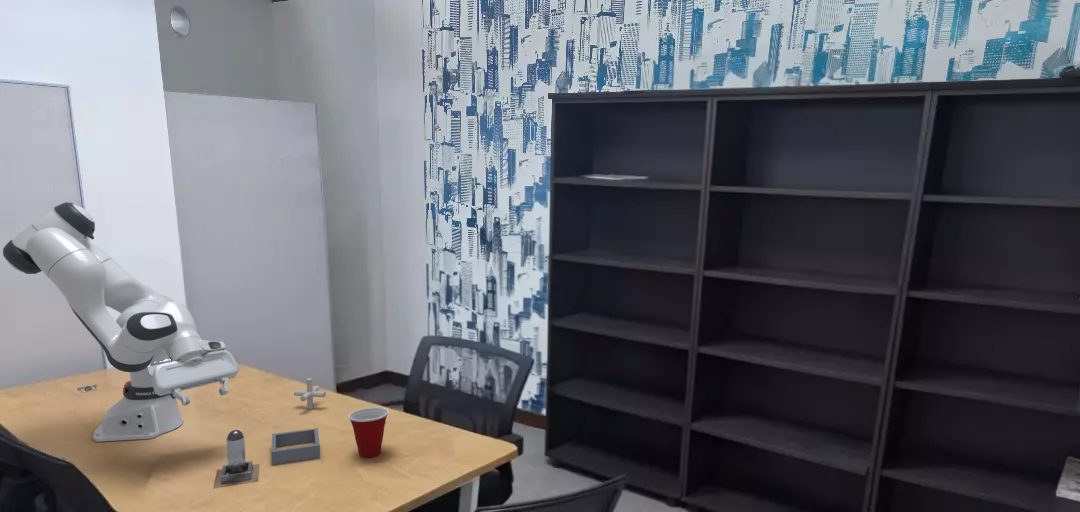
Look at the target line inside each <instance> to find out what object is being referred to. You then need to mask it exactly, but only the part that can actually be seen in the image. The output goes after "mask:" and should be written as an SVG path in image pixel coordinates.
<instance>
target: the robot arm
mask: <svg viewBox="0 0 1080 512" xmlns="http://www.w3.org/2000/svg"><path fill="white" fill-rule="evenodd" d="M95 230H96V223H95V221H94V219H93V217H92V216H91V214H90V213H89V211H88V210H86V209H85V208H84V207H82V206H79V205H77V204H75V203H73V202H69V201H68V202H67V201H66V202H63V203H61V204H58V205H56V206H54V208H53V209H51V210H49V211H48V212H46V213H45V214H42V215H41V216H39V217H38V218H37V219H35V220H34V221H32V222H31V224H29V225H28V226H26V228H24V229H23V230H22V231H21V232H20V233H18V234H17V235H16V237H14V239H11V240H9V241H8V242H7V243H6V244H5V246H3V248H2V257H4V259H5V260H6V261H7V263H8V264H9V266H11V267H12V268H13V269H15V270H17V271H19V272H20V273H21V272H22V273H24V274H26V275H37V274H38V273H41V272H43V274H44V275H45V276H46V277H47V278H49V280H50V281H51V282H52V283H53V284H54V285H55V286H56V287H57V288H58V290H59V291H60V292H61V293H62V296H63V297H64V298H65V299H66V301H67V303H68V305H69V306H70V309H71V310H72V312H73V313H74V315H75V316H76V317H77V319H78V320H79V321H80V322H81V324H82V326H83V327H85V328H86V329H87V331H88V332H89V333H90V335H91V336H92V337H93V338H94V339H95V340H96V342H97V343H98V344H99V345H100V347H102V349H103V352H104V353H105V356H106V358H107V361H108V362H109V364H110V365H111V366H112V367H113V368H115V369H117V370H118V371H120V372H124V373H125V372H126V373H129V378H130V379H129V380H128V381H126V382H125V384H124V385H123V389H122V395H123V397H122V398H121V399H119V400H118V401H117V402H115V403H114V404H113V405H112V406H110V407H109V408H108V409H107V410H106V412H105V414H104V415H103V418H102V422H101V423H102V424H100V425H99V426H98V427H97V428H96V429H95V430H94V432H93V433H92V434H93V436H92V437H93V438H92V439H93V441H95V442H98V443H99V442H113V441H114V442H115V441H116V442H117V441H118V442H119V441H132V440H133V441H134V440H149V439H154V438H156V437H158V436H160V435H162V434H165V433H168V432H171V431H173V430H175V429H177V428H179V427H180V426H181V425H183V423H184V420H183V418H182V416H181V413H180V410H179V405H178V401H177V400H179V401H180V403H181V405H182V407H183V406H186V405H187V406H188V405H190V403H191V399H190V397H189V395H184V394H183V393H181V392H182V391H185V390H190V389H194V388H198V387H203V386H206V385H210V384H215V383H219V385H222V387H219V389H218V392H219V395H220V396H226V395H228V393H229V391H228V387H227V386H228V381H229V380H232V379H234V378H235V377H236V376H237V375H238V373H239V365H238V363H237V361H236V360H235V358H234V356H233V354H232V353H231V352H230V351H229V350H226V343H225V342H224V341H216V340H215V341H214V340H206V339H203V338H202V337H201V335H199V333H198V328H197V327H198V326H197V324H196V322H195V320H194V317H193V316H192V313H191V312H190V310H189V309H188V307H187V306H185V305H184V304H183V303H181V302H179V301H174V299H172V298H171V297H168V296H166V295H163V294H161V293H159V292H158V291H156V290H154V289H152V288H151V287H149V286H147V285H146V284H145V283H142V282H141V281H139V280H138V279H136V278H135V277H134V276H133V275H132V274H131V273H129V272H128V271H127V270H126V269H124V268H123V266H121V265H120V264H119V263H118V262H116V261H115V260H114V259H113V258H112V257H111V256H110V255H109V254H107V253H106V252H104V250H102V249H101V248H100V247H98V246H97V245H95V244H93V243H92V242H90V241H89V240H87V237H88V238H89V239H91V240H94V239H95V237H94V232H95ZM107 308H110V309H112V310H114V311H116V312H118V313H120V314H119V315H118V317H117V318H116V320H115V318H114V317H113V316H112V315H111V314H110V312H109V311H108V309H107Z"/></svg>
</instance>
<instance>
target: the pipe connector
mask: <svg viewBox="0 0 1080 512" xmlns="http://www.w3.org/2000/svg"><path fill="white" fill-rule="evenodd" d="M305 382H306V390H303V389H302V390H301V389H299V390H297V389H296V390H294V391H293V395H294V396H295V397H300V398H299V400H300V401H301V402H305V401H306V406H307V410H312V409H314V398H326V395H327V394H326V391H322V390H321V391H319V390H320V386H319V385H315V386H313V378H311V377H309V378H306V381H305Z"/></svg>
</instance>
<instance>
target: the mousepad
mask: <svg viewBox="0 0 1080 512" xmlns="http://www.w3.org/2000/svg"><path fill="white" fill-rule="evenodd" d="M97 387H98V385H97V384H91V385H85V386H79V387H77V390H78V391H81V393H82V394H83V393H85V392H86V393H88V392H89V393H90V391H92V392H95V391H97V390H98V389H97ZM93 388H95V389H94V390H93ZM82 390H85V391H82Z"/></svg>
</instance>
